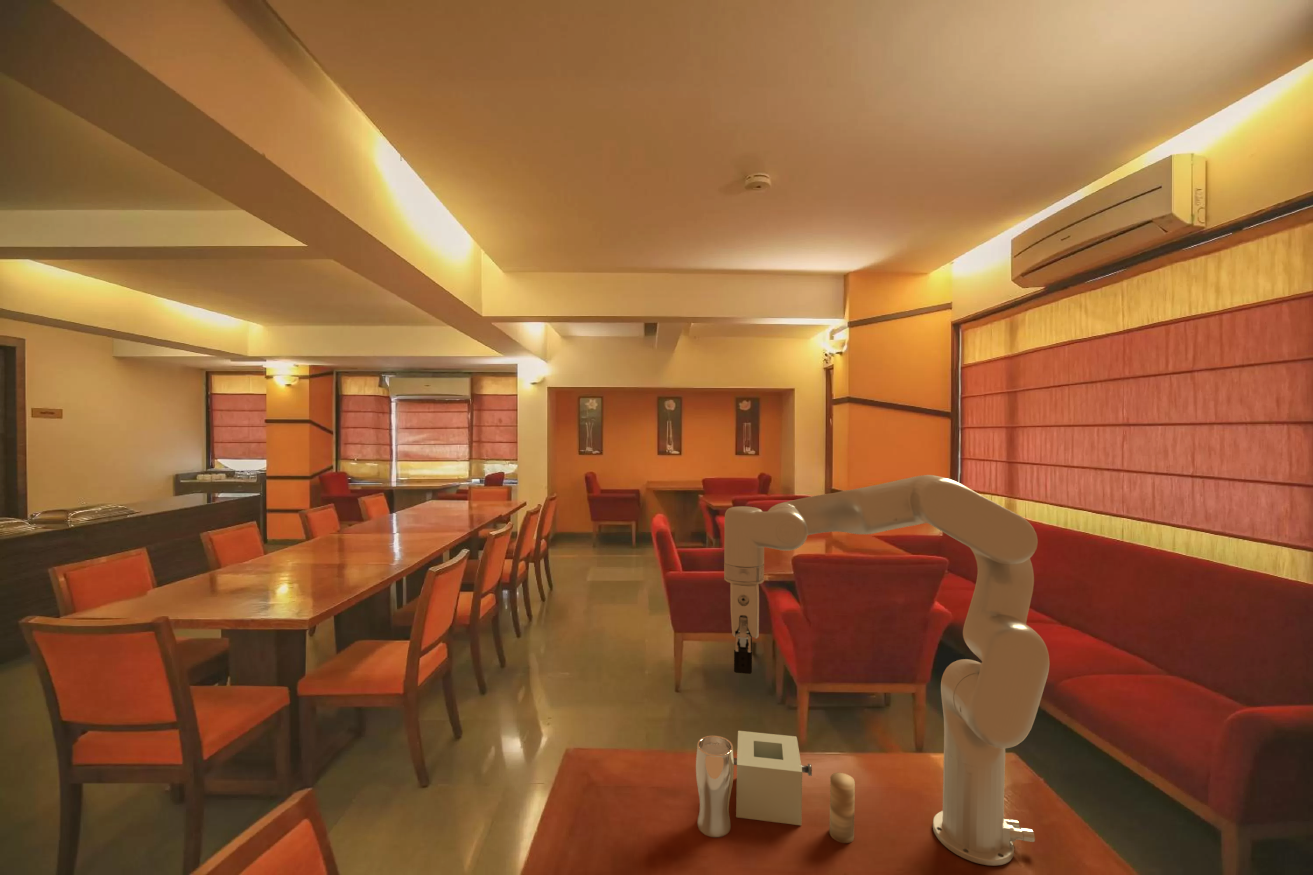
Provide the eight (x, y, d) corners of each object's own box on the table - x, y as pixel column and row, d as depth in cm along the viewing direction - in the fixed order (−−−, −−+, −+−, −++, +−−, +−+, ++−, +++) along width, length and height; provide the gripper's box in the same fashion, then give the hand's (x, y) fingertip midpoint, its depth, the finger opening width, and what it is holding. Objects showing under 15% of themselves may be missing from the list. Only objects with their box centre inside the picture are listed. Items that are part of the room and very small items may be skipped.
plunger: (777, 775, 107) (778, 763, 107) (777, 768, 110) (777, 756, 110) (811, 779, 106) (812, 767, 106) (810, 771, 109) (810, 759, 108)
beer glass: (731, 842, 97) (732, 758, 97) (692, 835, 99) (693, 753, 99) (734, 815, 104) (735, 737, 104) (697, 809, 106) (698, 732, 105)
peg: (851, 827, 101) (852, 773, 101) (855, 844, 97) (856, 788, 97) (828, 824, 102) (828, 771, 102) (831, 841, 98) (832, 785, 98)
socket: (795, 784, 114) (796, 736, 114) (801, 825, 102) (802, 771, 102) (737, 777, 116) (738, 730, 116) (736, 816, 104) (736, 764, 104)
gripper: (765, 585, 95) (764, 683, 96) (763, 562, 113) (762, 645, 113) (721, 583, 97) (721, 680, 97) (726, 560, 114) (725, 643, 114)
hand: (743, 661), depth 105 cm, fingers open, 9 cm apart
